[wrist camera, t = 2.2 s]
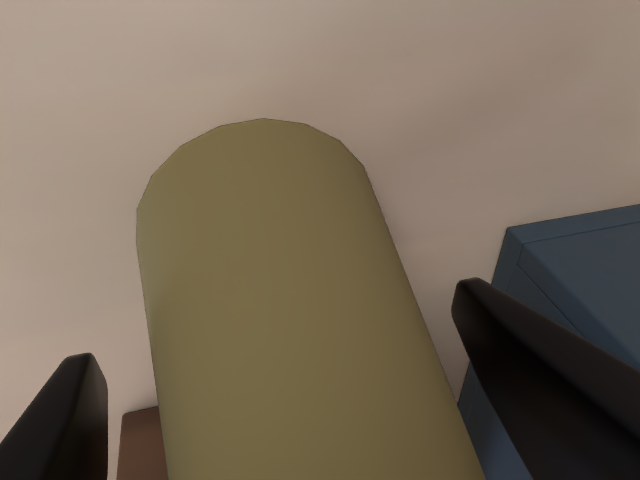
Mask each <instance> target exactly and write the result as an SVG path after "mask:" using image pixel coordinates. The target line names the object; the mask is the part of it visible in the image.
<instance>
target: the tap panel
mask: <svg viewBox="0 0 640 480" xmlns="http://www.w3.org/2000/svg"><path fill="white" fill-rule="evenodd" d="M116 480H169V478H168V471H167V464H166V457H165V449H164V442H163V435H162V427H161V420H160V413H159V406H158V407H153V408H149V409H144V410H140V411H135V412H131V413H126V414H124V415H123V416H122V424H121V435H120V446H119V457H118V467H117V478H116Z"/></svg>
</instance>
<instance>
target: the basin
mask: <svg viewBox="0 0 640 480" xmlns="http://www.w3.org/2000/svg"><path fill="white" fill-rule="evenodd" d="M492 286H494V287H496V288H498V289H499V290H501V291H503V292H505V293H506V294H508V295H510V296H511V297H513V298H515V299H517V300H518V301H520V302H522V303H524V304H525V305H527V306H529V307H530V308H532V309H534V310H536V311H537V312H539V313H541V314H543V315H544V316H546V317H548V318H550V319H551V320H553V321H555V322H556V323H558V324H560V325H562V326H563V327H565V328H567V329H569V330H570V331H572V332H574V333H575V334H577V335H579V336H581V337H582V338H584V339H586V340H588V341H589V342H591V343H593V344H595V345H596V346H598V347H600V348H601V349H603V350H605V351H607V352H608V353H610V354H612V355H614V356H615V357H617V358H619V359H620V360H622V361H624V362H626V363H627V364H629V365H631V366H633V367H634V368H636V369H638V370H640V204H638V205H632V206H627V207H621V208H615V209H610V210H604V211H598V212H593V213H587V214H581V215H576V216H570V217H564V218H559V219H553V220H547V221H542V222H536V223H530V224H525V225H519V226H513V227H509V228H508V229H507V231H506V235H505V239H504V242H503V246H502V249H501V253H500V257H499V260H498V264H497V267H496V271H495V274H494V278H493V282H492ZM458 409H459V411H460V414H461V417H462V419H463V422H464V424H465V427H466V429H467V432H468V434H469V437H470V440H471V442H472V445H473V447H474V450H475V452H476V455H477V457H478V460H479V463H480V465H481V468H482V470H483V473H484V475H485V478H486V480H532V478H531V476H530V474H529V472H528V471H527V469H526V467H525V465H524V463H523V462H522V460H521V458H520V456H519V454H518V452H517V451H516V449H515V447H514V445H513V443H512V442H511V440H510V438H509V436H508V434H507V432H506V431H505V429H504V427H503V425H502V423H501V422H500V420H499V418H498V416H497V414H496V412H495V411H494V409H493V407H492V405H491V403H490V401H489V400H488V398H487V396H486V394H485V392H484V390H483V388H482V386H481V385H480V383H479V380H478V378H477V376H476V374H475V371H474V369H473V366H472V364H471V362H470V364H469V367H468V371H467V374H466V378H465V382H464V385H463V389H462V392H461V396H460V399H459V403H458Z"/></svg>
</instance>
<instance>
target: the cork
mask: <svg viewBox="0 0 640 480" xmlns="http://www.w3.org/2000/svg"><path fill="white" fill-rule="evenodd" d="M136 245H137V252H138V260H139V267H140V274H141V282H142V289H143V296H144V303H145V311H146V318H147V325H148V333H149V340H150V347H151V355H152V362H153V369H154V376H155V384H156V391H157V398H158V406H159V413H160V420H161V427H162V435H163V442H164V449H165V457H166V464H167V471H168V478H169V480H486V478H485V475H484V473H483V470H482V468H481V465H480V463H479V460H478V457H477V455H476V452H475V450H474V447H473V445H472V442H471V440H470V437H469V434H468V432H467V429H466V427H465V424H464V422H463V419H462V417H461V414H460V411H459V409H458V406H457V404H456V401H455V399H454V396H453V394H452V391H451V388H450V386H449V383H448V381H447V378H446V376H445V373H444V371H443V368H442V365H441V363H440V360H439V358H438V355H437V353H436V350H435V348H434V345H433V342H432V340H431V337H430V335H429V332H428V330H427V327H426V325H425V322H424V319H423V317H422V314H421V312H420V309H419V307H418V304H417V302H416V299H415V296H414V294H413V291H412V289H411V286H410V284H409V281H408V278H407V276H406V273H405V271H404V268H403V266H402V263H401V261H400V258H399V255H398V253H397V250H396V248H395V245H394V243H393V240H392V238H391V235H390V232H389V230H388V227H387V225H386V222H385V220H384V217H383V215H382V212H381V209H380V207H379V204H378V202H377V199H376V197H375V194H374V192H373V189H372V187H371V184H370V182H369V179H368V177H367V174H366V172H365V169H364V167H363V165H362V164H361V163H360V162H359V161H358V160H357V158H356V157H355V156H354V155H353V154H352V153H351V152H350V151H349V150H348V149H347V148H346V147H345V146H344V145H343V144H342V143H341V142H340V141H339V140H337V139H335V138H333V137H331V136H329V135H327V134H325V133H323V132H321V131H319V130H317V129H315V128H313V127H311V126H309V125H306V124H302V123H294V122H287V121H279V120H272V119H264V118H263V119H258V120H252V121H246V122H240V123H235V124H229V125H223V126H219V127H217V128H215V129H213V130H211V131H209V132H207V133H205V134H203V135H201V136H199V137H197V138H196V139H194V140H192V141H190V142H188V143H186V144H184V145H182V146H180V147H179V148H178V149H177V150H176V151H175V152H174V153H173V154H172V155H171V156H170V157H169V158H168V160H167V161H166V162H165V163H164V164H163V165H162V166H161V167H160V168H159V169H158V170H157V171H156V172H155V173H154V174H153V175H152V176H151V178H150V181H149V183H148V185H147V188H146V190H145V192H144V194H143V197H142V199H141V201H140V203H139V206H138V208H137V227H136Z"/></svg>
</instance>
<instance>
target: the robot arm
mask: <svg viewBox="0 0 640 480" xmlns="http://www.w3.org/2000/svg"><path fill="white" fill-rule="evenodd" d="M451 313H452V318H453V321H454V323H455V325H456V328H457V330H458V333H459V335H460V338H461V340H462V342H463V345H464V347H465V350H466V352H467V354H468V357H469V359H470V362H471V364H472V366H473V369H474V371H475V374H476V376H477V378H478V380H479V383H480V385H481V386H482V388H483V390H484V392H485V394H486V396H487V398H488V400H489V401H490V403H491V405H492V407H493V409H494V411H495V412H496V414H497V416H498V418H499V420H500V422H501V423H502V425H503V427H504V429H505V431H506V432H507V434H508V436H509V438H510V440H511V442H512V443H513V445H514V447H515V449H516V451H517V452H518V454H519V456H520V458H521V460H522V462H523V463H524V465H525V467H526V469H527V471H528V472H529V474H530V476H531V478H532V480H640V370H638V369H636V368H634V367H633V366H631V365H629V364H627V363H626V362H624V361H622V360H620V359H619V358H617V357H615V356H614V355H612V354H610V353H608V352H607V351H605V350H603V349H601V348H600V347H598V346H596V345H595V344H593V343H591V342H589V341H588V340H586V339H584V338H582V337H581V336H579V335H577V334H575V333H574V332H572V331H570V330H569V329H567V328H565V327H563V326H562V325H560V324H558V323H556V322H555V321H553V320H551V319H550V318H548V317H546V316H544V315H543V314H541V313H539V312H537V311H536V310H534V309H532V308H530V307H529V306H527V305H525V304H524V303H522V302H520V301H518V300H517V299H515V298H513V297H511V296H510V295H508V294H506V293H505V292H503V291H501V290H499V289H498V288H496V287H494V286H492V285H491V284H489V283H487V282H485V281H484V280H482V279H480V278H470V279H464V280H461V281H459V282H458V283H457V285H456V289H455V294H454V298H453V303H452V307H451ZM107 474H108V388H107V383H106V379H105V377H104V375H103V373H102V371H101V369H100V367H99V365H98V363H97V361H96V359H95V357H94V356H93V354H91V353H83V354H78V355H73V356H69V357H67V358H65V359H64V360H63V361H62V363H61V364H60V365H59V367H58V368H57V369H56V371H55V372H54V373H53V375H52V376H51V377H50V378H49V380H48V381H47V382H46V384H45V385H44V386H43V388H42V389H41V390H40V392H39V393H38V394H37V396H36V397H35V398H34V400H33V401H32V402H31V404H30V405H29V406H28V407H27V409H26V410H25V411H24V413H23V414H22V415H21V417H20V418H19V419H18V421H17V422H16V423H15V425H14V426H13V427H12V429H11V430H10V431H9V433H8V434H7V435H6V436H5V438H4V439H3V440H2V442H1V443H0V480H107Z"/></svg>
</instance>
